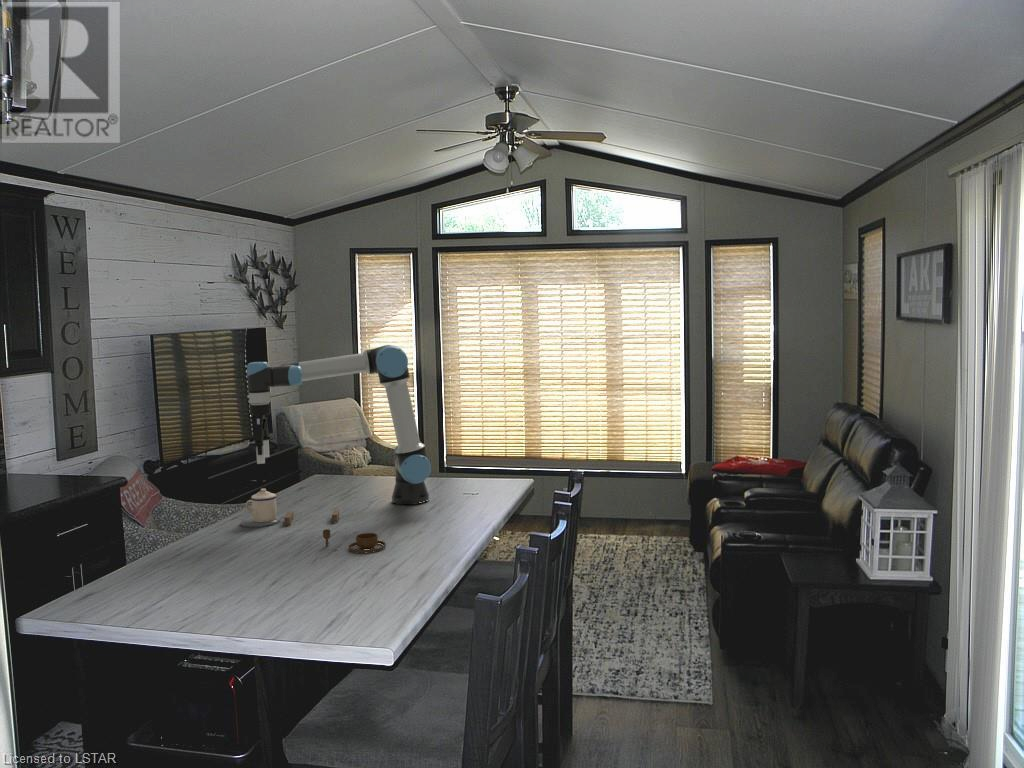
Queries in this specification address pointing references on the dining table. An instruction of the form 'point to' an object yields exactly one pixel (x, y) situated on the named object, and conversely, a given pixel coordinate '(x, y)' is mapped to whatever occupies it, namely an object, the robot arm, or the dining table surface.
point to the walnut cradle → (289, 516)
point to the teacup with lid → (263, 506)
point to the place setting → (360, 542)
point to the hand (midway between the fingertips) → (263, 460)
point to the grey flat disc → (251, 523)
